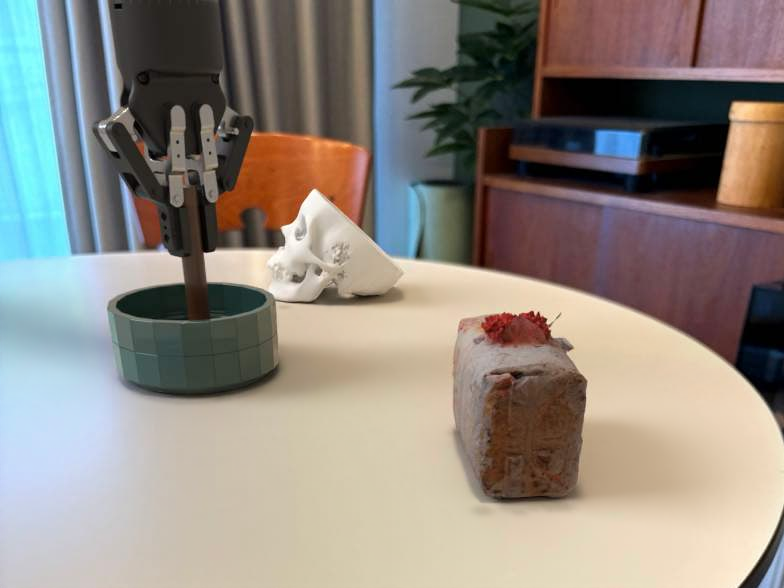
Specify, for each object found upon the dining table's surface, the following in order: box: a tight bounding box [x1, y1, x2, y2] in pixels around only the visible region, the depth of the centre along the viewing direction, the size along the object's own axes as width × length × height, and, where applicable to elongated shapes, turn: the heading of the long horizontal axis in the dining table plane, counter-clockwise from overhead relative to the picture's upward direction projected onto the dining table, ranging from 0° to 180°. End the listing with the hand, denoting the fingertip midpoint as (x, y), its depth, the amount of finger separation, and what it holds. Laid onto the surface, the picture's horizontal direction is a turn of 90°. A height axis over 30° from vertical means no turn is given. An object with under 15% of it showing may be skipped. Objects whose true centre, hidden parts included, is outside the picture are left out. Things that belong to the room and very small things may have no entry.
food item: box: [452, 310, 589, 500], centre depth 54 cm, size 14×8×10 cm, turn 5°
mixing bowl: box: [106, 281, 280, 395], centre depth 70 cm, size 13×13×6 cm
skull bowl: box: [266, 188, 405, 303], centre depth 93 cm, size 10×14×12 cm
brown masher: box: [180, 184, 211, 320], centre depth 67 cm, size 6×6×13 cm
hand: (191, 252), depth 66 cm, fingers closed on brown masher
